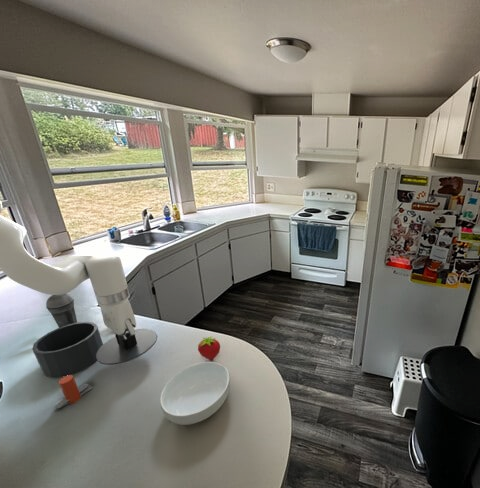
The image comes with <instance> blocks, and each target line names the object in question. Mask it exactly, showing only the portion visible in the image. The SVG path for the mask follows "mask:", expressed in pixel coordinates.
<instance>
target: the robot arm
mask: <svg viewBox="0 0 480 488" xmlns="http://www.w3.org/2000/svg"><path fill="white" fill-rule="evenodd" d="M2 212H3V203H2V201H1V200H0V270H1V271H2V273H3V274H4V275H5V276H7V277H8V278H9V279H10V280H12V281H13V282H14V283H17V284H19V285H21V286H24V287H26V288H29V289H31V290H34V291H36V292H39V293H40V294H45V295H49V296H52V295H63V294H66V293H67V294H68V293H70V292H72V291H73V290H75V289H76V288H77V287H78V286H79V285H81V284H82V283H83V282H86V281H88V280H89V281H90V284H91V287H92V290H93V293H94V296H95V300H96V302H97V305H98V306H99V308H100V312H101V315H102V321H103V324H104V326H105V327H106V328H107V329H109V330H110V331H111V332H113V333H114V335H115V336H116V339H117V342H118V344H119V345H120V342H119V339H118V336H117V334H118V335H121V334H122V336H123V340H122V341H123V344H124V347H125V350H128V349H130V348H132V347H134V346H135V345H137V341H136V337H135V334H136V332H135V329H136V328H137V320H136V316H135V314H134V310H133V308H132V305H131V303H130V300H129V298H130V297H131V293H130V290H129V286H128V283H127V279H126V275H125V271H124V267H123V264H122V261H121V258H120V256H119V255H118V254H113V253H103V254H98V255H94V254H83V253H78V254H76V253H75V254H70V255H68V256H66V257H64V258H62V259H60V260H59V261H57V262H55V263H53V264H52V265H50V264H48V263H46V262H44V261H41V260H39V259H38V258H36V257H34V256H33V255H31V253H30V252H28V251H27V249H26V248H25V245H24V240H25V238H26V236H27V229H26V228H25V226H22V225H20V224H18V223H16V222H15V221H12V220H11V219H9V218H6V217H4V216H3V215H1V213H2ZM127 331H128V332H129V333H127V334H125V332H127ZM115 336H114V337H115Z"/></svg>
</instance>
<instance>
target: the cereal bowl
mask: <svg viewBox="0 0 480 488" xmlns="http://www.w3.org/2000/svg"><path fill="white" fill-rule="evenodd" d="M230 386H231V377H230V372H229V370H228V368H227V367H226V366H224V364H222V363H219V362H215V361H203V362H197V363H194V364H191V365H188V366H186V367H185V368H183V369H181V370H180V371H178V372H177V373H175V375H173V376H172V377H171V378H170V379H168V381H167V383H166V384H165V386H164V387H163V389H162V391H161V394H160V398H159V399H160V400H159V404H160V408H161V411H162V413H163V415H164V417H166V418H167V420H168V421H170V422H172V423H173V424H176V425H182V426H187V425H194V424H197V423H200V422H203V421H205V420H206V419H208V418H210V417H211V416H212V415H213V414H215V413H216V412H217V411H218V410H219V409H220V408H221V407H222V405H224V402H225V401H226V399H227V397H228V395H229V392H230Z"/></svg>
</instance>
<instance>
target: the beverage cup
mask: <svg viewBox="0 0 480 488" xmlns="http://www.w3.org/2000/svg"><path fill="white" fill-rule="evenodd" d="M74 301H75V299H74V298H73V296H72V295H71V294H68V293H66V294H63V295H49V297H48V298H47V300H46V303H45V306H46V309H47V310H48V312H49V313H50V314H51V316H52V318H53V320H54V321H55V323H56V325H57V327H58V328H60V327H63V326H66V325H69V324H74V323H78V319H77V314H76V310H75V302H74Z"/></svg>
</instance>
